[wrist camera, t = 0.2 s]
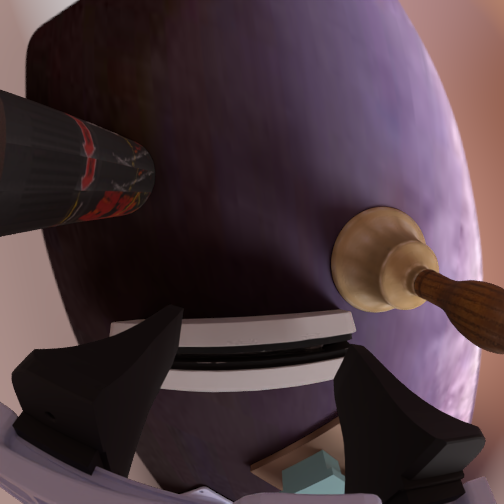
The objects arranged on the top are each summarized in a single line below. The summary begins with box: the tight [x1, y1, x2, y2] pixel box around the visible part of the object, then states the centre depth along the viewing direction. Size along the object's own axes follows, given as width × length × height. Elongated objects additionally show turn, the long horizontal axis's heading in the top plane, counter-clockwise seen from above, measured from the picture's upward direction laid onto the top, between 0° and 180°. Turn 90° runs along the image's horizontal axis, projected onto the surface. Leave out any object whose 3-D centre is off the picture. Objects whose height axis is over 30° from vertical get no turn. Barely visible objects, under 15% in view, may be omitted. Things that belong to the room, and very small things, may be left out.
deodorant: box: [0, 90, 155, 237], centre depth 14 cm, size 6×6×15 cm
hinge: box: [110, 309, 356, 392], centre depth 19 cm, size 17×5×10 cm, turn 94°
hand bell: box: [331, 207, 504, 354], centre depth 14 cm, size 8×8×16 cm
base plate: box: [250, 416, 345, 491], centre depth 26 cm, size 15×22×1 cm
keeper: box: [279, 450, 345, 494], centre depth 23 cm, size 6×12×4 cm, turn 41°
